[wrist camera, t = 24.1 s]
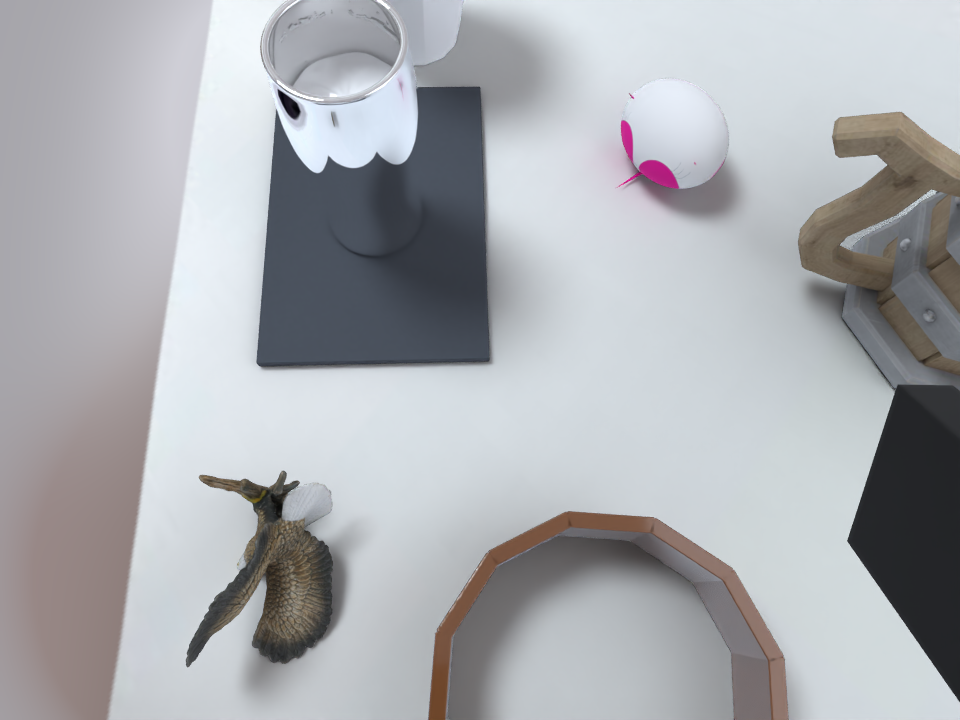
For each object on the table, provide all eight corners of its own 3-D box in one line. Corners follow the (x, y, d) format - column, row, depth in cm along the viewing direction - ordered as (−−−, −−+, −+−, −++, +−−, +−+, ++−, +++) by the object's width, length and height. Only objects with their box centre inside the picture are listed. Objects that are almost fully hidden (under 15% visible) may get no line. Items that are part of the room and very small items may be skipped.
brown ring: (650, 945, 34) (680, 1003, 29) (372, 731, 36) (358, 751, 32) (800, 637, 38) (847, 643, 33) (543, 467, 41) (552, 450, 36)
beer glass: (423, 163, 47) (404, -27, 32) (436, 257, 44) (420, 97, 30) (319, 174, 46) (252, -12, 32) (326, 269, 44) (257, 114, 30)
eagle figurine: (180, 499, 39) (162, 675, 34) (216, 451, 34) (200, 650, 29) (312, 509, 43) (311, 668, 38) (361, 467, 38) (367, 645, 33)
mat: (489, 361, 43) (489, 358, 42) (258, 366, 43) (256, 363, 42) (480, 92, 49) (480, 86, 49) (279, 94, 49) (277, 88, 48)
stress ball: (600, 163, 51) (566, 139, 46) (686, 78, 48) (662, 41, 42) (665, 238, 49) (639, 223, 43) (760, 154, 46) (745, 125, 40)
